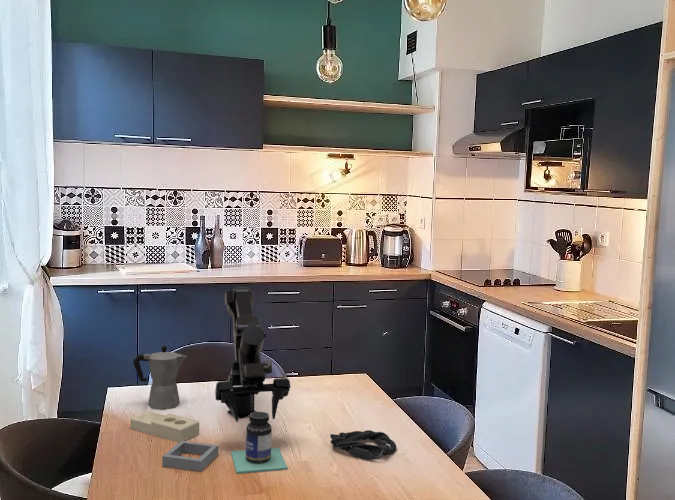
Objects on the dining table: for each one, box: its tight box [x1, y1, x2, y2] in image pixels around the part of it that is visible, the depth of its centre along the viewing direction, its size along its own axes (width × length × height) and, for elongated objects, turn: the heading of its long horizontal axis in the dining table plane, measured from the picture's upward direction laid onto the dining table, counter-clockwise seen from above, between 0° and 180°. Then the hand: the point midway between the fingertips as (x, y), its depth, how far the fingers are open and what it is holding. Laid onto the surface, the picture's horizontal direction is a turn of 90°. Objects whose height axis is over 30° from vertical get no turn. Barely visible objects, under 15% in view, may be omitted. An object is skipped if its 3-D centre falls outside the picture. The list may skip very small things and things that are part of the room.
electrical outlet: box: [130, 411, 200, 443], centre depth 177 cm, size 7×4×18 cm
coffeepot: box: [132, 345, 188, 411], centre depth 197 cm, size 15×9×18 cm, turn 103°
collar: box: [161, 440, 219, 472], centre depth 159 cm, size 10×10×2 cm
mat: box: [230, 447, 289, 475], centre depth 160 cm, size 12×12×1 cm
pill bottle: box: [245, 411, 273, 463], centre depth 160 cm, size 6×6×11 cm
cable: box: [329, 429, 397, 461], centre depth 170 cm, size 17×14×4 cm
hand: (255, 420), depth 165 cm, fingers open, 9 cm apart
